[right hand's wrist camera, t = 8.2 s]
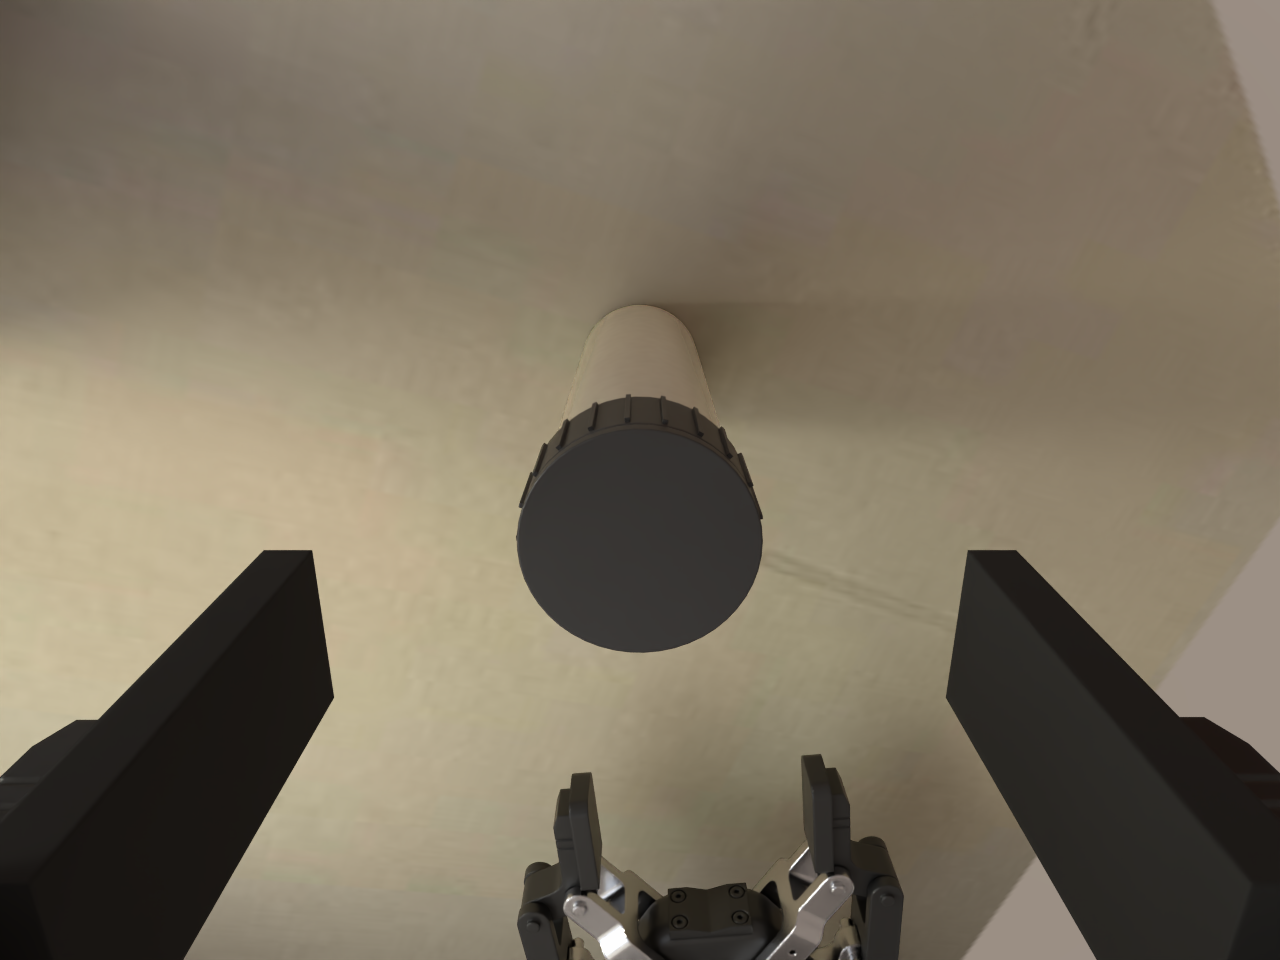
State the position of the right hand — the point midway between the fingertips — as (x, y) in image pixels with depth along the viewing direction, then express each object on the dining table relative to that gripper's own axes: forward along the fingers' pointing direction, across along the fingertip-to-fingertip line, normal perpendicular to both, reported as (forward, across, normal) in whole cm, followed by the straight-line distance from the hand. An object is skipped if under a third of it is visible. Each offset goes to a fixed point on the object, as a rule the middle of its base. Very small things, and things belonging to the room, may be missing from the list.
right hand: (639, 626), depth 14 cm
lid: (+3, 0, 0) cm, 3 cm away
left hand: (+13, -2, +14) cm, 19 cm away
